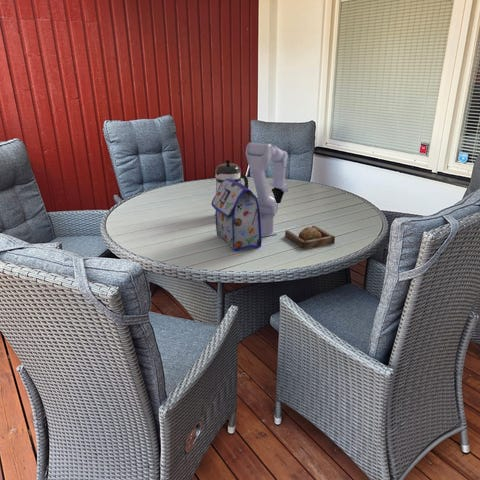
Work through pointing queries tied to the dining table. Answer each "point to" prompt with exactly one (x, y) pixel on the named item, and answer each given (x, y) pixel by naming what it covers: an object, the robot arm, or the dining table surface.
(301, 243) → the roll holder
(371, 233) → the dining table surface
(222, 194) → the lunch bag
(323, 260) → the dining table surface
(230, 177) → the coffee press
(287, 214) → the dining table surface
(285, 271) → the dining table surface
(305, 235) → the bread roll
